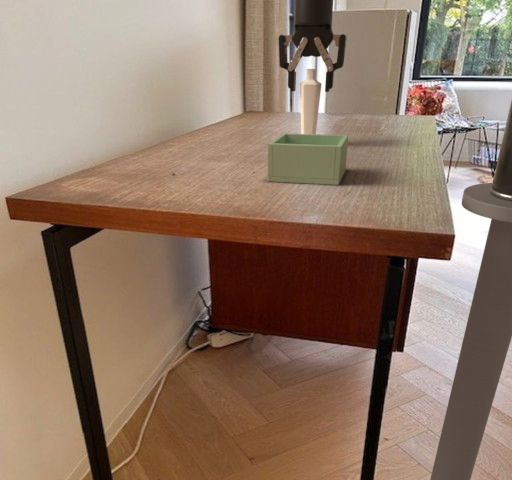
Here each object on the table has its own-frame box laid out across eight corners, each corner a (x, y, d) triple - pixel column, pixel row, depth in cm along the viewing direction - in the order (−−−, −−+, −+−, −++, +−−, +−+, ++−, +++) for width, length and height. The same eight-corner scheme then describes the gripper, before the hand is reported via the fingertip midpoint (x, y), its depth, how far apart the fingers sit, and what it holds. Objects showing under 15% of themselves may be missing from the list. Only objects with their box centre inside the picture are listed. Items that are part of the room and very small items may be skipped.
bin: (345, 170, 89) (348, 135, 86) (338, 185, 79) (341, 146, 76) (281, 167, 92) (282, 133, 89) (267, 181, 82) (267, 143, 79)
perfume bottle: (318, 143, 114) (322, 68, 107) (317, 146, 110) (321, 69, 103) (298, 143, 115) (301, 68, 107) (297, 146, 111) (299, 69, 103)
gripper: (274, -3, 97) (273, 92, 106) (349, -5, 94) (342, 93, 103) (282, 0, 103) (280, 89, 112) (352, -2, 100) (345, 90, 109)
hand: (310, 91), depth 107 cm, fingers open, 7 cm apart
